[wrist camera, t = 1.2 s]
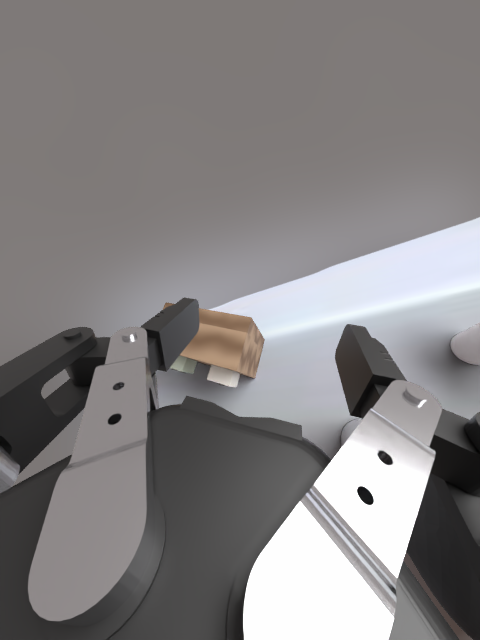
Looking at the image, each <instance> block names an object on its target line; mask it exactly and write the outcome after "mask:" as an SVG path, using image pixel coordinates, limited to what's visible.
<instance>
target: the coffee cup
mask: <svg viewBox="0 0 480 640" xmlns="http://www.w3.org/2000/svg"><path fill="white" fill-rule="evenodd" d="M450 346H451V349H452V351H453V353H454V354H455V355H456V356H457V357H458V358H459V359H460V360H462V361H464V362H466V363H469V364H474V365H480V323H478V324H476V325H474V326H472V327H470V328H468V329H467V330H465V331H463V332H461V333H459V334H457V335H455V336H454V337H453V338H452V340H451V343H450Z"/></svg>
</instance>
